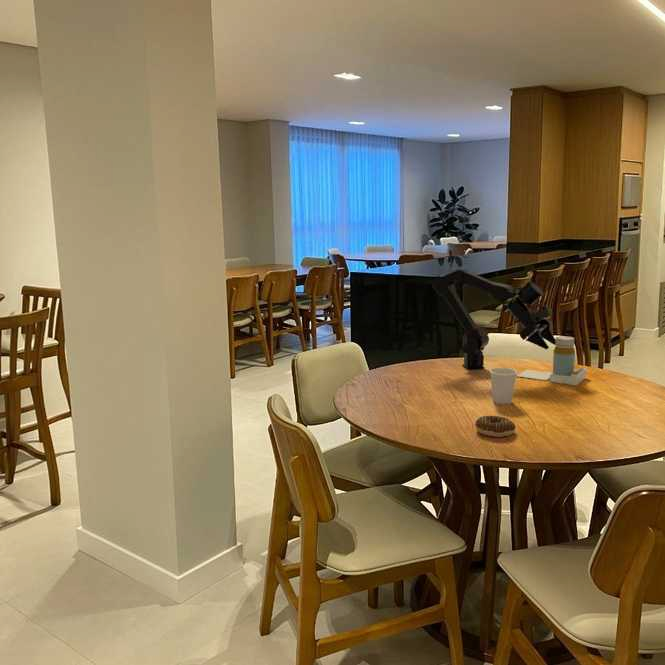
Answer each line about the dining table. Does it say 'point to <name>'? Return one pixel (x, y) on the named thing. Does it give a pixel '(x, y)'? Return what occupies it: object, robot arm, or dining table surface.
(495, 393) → the dixie cup
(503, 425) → the donut
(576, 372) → the dock
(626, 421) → the dining table surface
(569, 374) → the bottle
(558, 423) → the dining table surface
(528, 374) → the mat
